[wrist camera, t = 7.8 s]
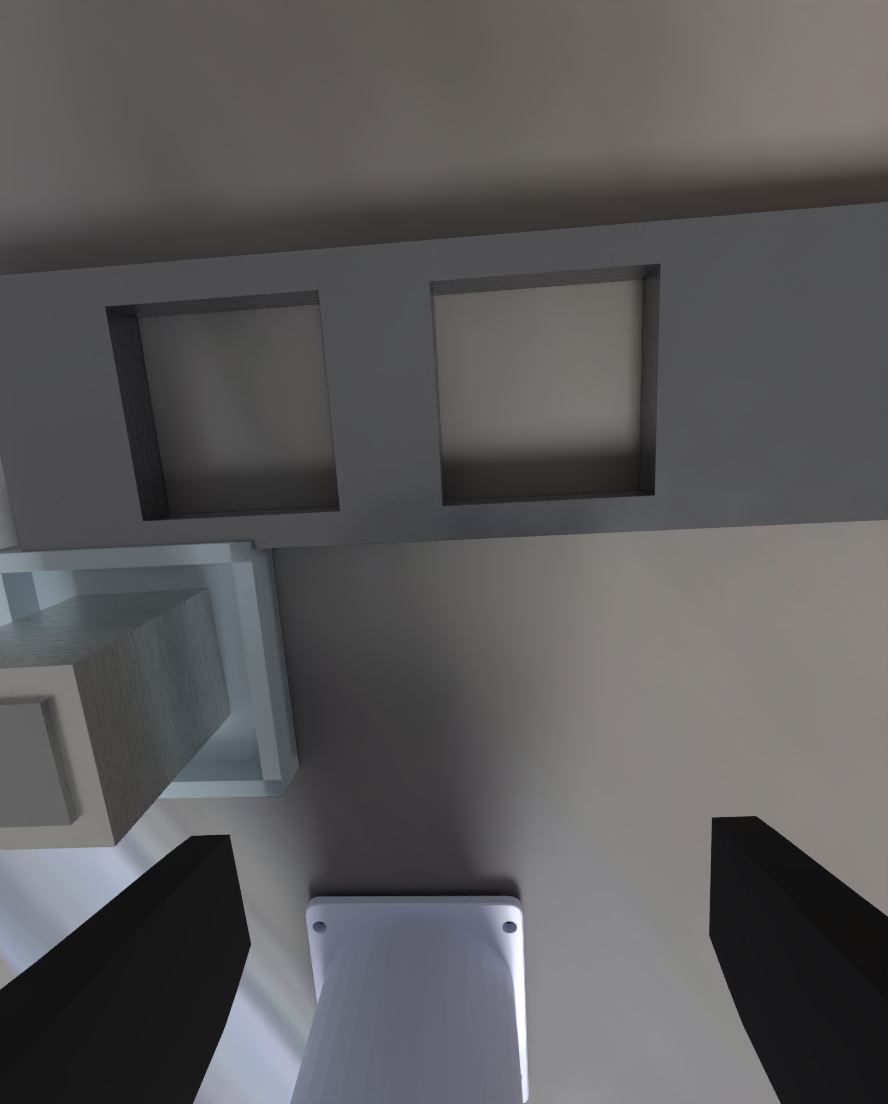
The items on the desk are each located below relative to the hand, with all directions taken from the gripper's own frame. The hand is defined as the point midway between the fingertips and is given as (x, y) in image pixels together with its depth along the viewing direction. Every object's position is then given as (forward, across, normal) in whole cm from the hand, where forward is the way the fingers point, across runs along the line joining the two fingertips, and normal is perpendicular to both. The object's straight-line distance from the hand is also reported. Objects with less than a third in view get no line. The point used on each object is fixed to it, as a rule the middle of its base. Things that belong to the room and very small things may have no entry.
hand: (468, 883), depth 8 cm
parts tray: (+10, +11, 0) cm, 15 cm away
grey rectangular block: (+9, +11, 0) cm, 14 cm away
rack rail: (+10, 0, -8) cm, 13 cm away
